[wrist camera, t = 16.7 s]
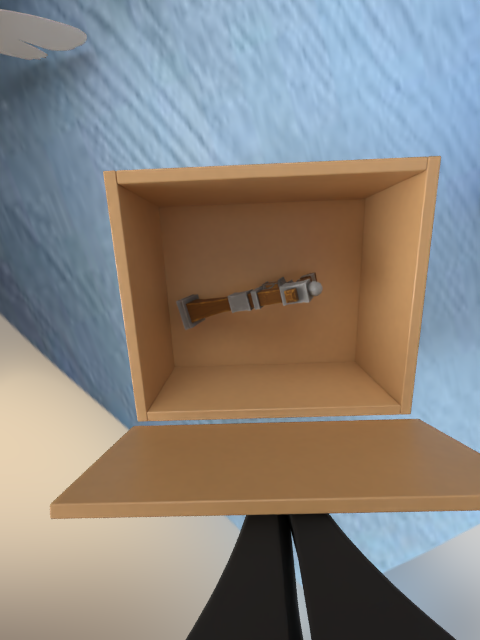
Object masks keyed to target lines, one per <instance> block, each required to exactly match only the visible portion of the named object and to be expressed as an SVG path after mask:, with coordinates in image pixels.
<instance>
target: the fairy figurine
mask: <svg viewBox="0 0 480 640" xmlns="http://www.w3.org/2000/svg"><path fill="white" fill-rule="evenodd" d="M86 39H87V35H86V34H85V33H84V32H83V31H81V30H79V29H77V28H75V27H72V26H70V25H66V24H63V23H60V22H57V21H53V20H49V19H46V18H42V17H38V16H34V15H29V14H24V13H20V12H14V11H9V10H3V9H0V53H1V54H4V55H8V56H14V57H18V58H23V59H27V60H32V59H38V60H41V59H40V58H46V57H45V56H47V54H46V53H44V52H43V51H41V50H39V49H37V48H35V47H34V46H32V45H29V44H27V43H30V44H33V45H36V46H39V47H42V48H45V49H49V50H55V51H66V50H72V49H74V48H75V47H77V46H80V45H83V44H84V43H85V41H86ZM20 40H21V41H20ZM23 41H24V42H23ZM25 42H27V43H25Z"/></svg>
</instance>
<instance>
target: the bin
mask: <svg viewBox="0 0 480 640" xmlns="http://www.w3.org/2000/svg"><path fill="white" fill-rule="evenodd" d="M440 162H441V156H429V157H408V158H385V159H363V160H341V161H319V162H297V163H274V164H252V165H230V166H208V167H186V168H163V169H141V170H119V171H103V174H104V181H105V188H106V195H107V203H108V210H109V217H110V224H111V231H112V239H113V246H114V253H115V260H116V267H117V275H118V282H119V289H120V296H121V303H122V311H123V318H124V325H125V332H126V339H127V347H128V354H129V361H130V368H131V375H132V383H133V390H134V397H135V404H136V411H137V419H138V421H171V420H209V419H246V418H284V417H321V416H359V415H396V414H411V406H412V398H413V389H414V381H415V373H416V364H417V356H418V347H419V339H420V330H421V322H422V313H423V305H424V297H425V288H426V280H427V271H428V263H429V254H430V246H431V238H432V229H433V221H434V212H435V204H436V195H437V187H438V178H439V170H440ZM314 272H315V273H316V278H317V282H319V283H321V285H322V287H323V290H322V292H321V294H320V295H318V296H313V298H312V300H311V301H310V302H302V303H295V304H288V305H285V306H283V303H278V304H271V305H265V306H263V307H262V308H261V309H256V310H255V308H253V309H252V310H251V311H248V310H245V311H238V312H234V313H232V311H227V312H223V313H219V314H216V315H213V316H209V317H206V318H205V319H206V320H204V321H203V322H201V323H199V324H198V325H196V326H194V327H193V328H191V329H190V328H189V329H187V330H185V328H184V325H183V322H182V319H181V315H180V312H179V309H178V306H177V303H176V301H178V300H180V299H182V298H185V297H187V296H190V295H192V294H194V295H196V294H198V296H199V299H210V298H220V297H227V296H229V295H231V294H233V293H235V292H244V291H248V290H251V289H253V290H254V289H256V288H259V287H260V286H262V284H263V283H265V282H267V281H268V282H274V281H278V279H280V278H281V277H284V279H285V280H286V282H288V281H290V280H291V279H292V280H293V282H296V281H297V280H298V279H300V277H301V276H303V275H306V274H309V273H314Z"/></svg>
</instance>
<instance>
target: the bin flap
mask: <svg viewBox="0 0 480 640" xmlns="http://www.w3.org/2000/svg"><path fill="white" fill-rule="evenodd" d="M472 510H480V453H478V452H476V451H475V450H473V449H471V448H469V447H467V446H466V445H464V444H462V443H460V442H459V441H457V440H455V439H453V438H452V437H450V436H448V435H446V434H445V433H443V432H441V431H439V430H437V429H436V428H434V427H432V426H430V425H429V424H427V423H425V422H423V421H422V420H420V419H393V420H355V421H317V422H279V423H241V424H203V425H165V426H133V427H132V428H131V429H130V430H129V431H128V432H127V433H126V434H124V435H123V436H122V437H121V438H120V439H119V440H118V441H117V442H116V443H115V444H114V445H113V446H112V447H111V448H110V449H108V450H107V451H106V452H105V453H104V454H103V455H102V456H101V457H100V458H99V459H98V460H97V461H96V462H95V463H94V464H93V465H92V466H90V467H89V468H88V469H87V470H86V471H85V472H84V473H83V474H82V475H81V476H80V477H79V478H78V479H77V480H76V481H75V482H73V483H72V484H71V485H70V486H69V487H68V488H67V489H66V490H65V491H64V492H63V493H62V494H61V495H60V496H59V497H57V498H56V499H55V500H54V501H53V502H52V503H51V504H50V518H51V519H63V518H64V519H65V518H116V517H162V516H163V517H164V516H165V517H166V516H213V515H214V516H216V515H217V516H218V515H269V514H319V513H370V512H421V511H472Z"/></svg>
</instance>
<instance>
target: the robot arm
mask: <svg viewBox="0 0 480 640" xmlns="http://www.w3.org/2000/svg"><path fill="white" fill-rule="evenodd" d="M291 533H292V536H293V540H294V544H295V548H296V552H297V556H298V560H299V566H300V572H301V578H302V584H303V590H304V596H305V602H306V608H307V614H308V620H309V625H310V633H311V639H312V640H456V639H455V638H454V637H453V636H451V635H450V634H449V633H448V632H446V631H445V630H444V629H443V628H442V627H441V626H439V625H438V624H437V623H436V622H435V621H433V620H432V619H431V618H430V617H429V616H427V615H426V614H425V613H424V612H423V611H422V610H421V609H420V608H418V607H417V606H416V605H415V604H414V603H413V602H412V601H411V600H409V599H408V598H407V597H406V596H405V595H404V594H403V593H402V592H401V591H400V590H399V589H397V588H396V587H395V586H394V585H393V584H392V583H391V582H390V581H389V580H388V579H387V578H386V577H385V576H384V575H383V574H382V573H381V572H380V571H379V570H378V569H377V568H376V567H375V566H374V565H373V564H372V563H371V562H370V561H369V560H368V559H367V558H366V557H365V556H364V555H363V554H362V552H361V551H360V550H359V549H358V548H357V547H356V546H355V545H354V544H353V543H352V541H351V540H350V539H349V538H348V537H347V536H346V535H345V533H344V532H343V531H342V530H341V529H340V527H339V526H338V525H337V524H336V522H335V521H334V520H333V519H332V517H331V516H330V515H329V513H319V514H269V515H246V517H245V520H244V523H243V526H242V529H241V532H240V534H239V537H238V539H237V542H236V544H235V547H234V549H233V552H232V554H231V556H230V558H229V561H228V563H227V565H226V567H225V569H224V571H223V573H222V575H221V578H220V580H219V582H218V584H217V586H216V588H215V589H214V591H213V594H212V595H211V597H210V599H209V601H208V603H207V604H206V606H205V608H204V610H203V611H202V613H201V615H200V616H199V618H198V620H197V622H196V623H195V625H194V627H193V629H192V630H191V632H190V633H189V635H188V637H187V639H186V640H303V635H302V629H301V623H300V616H299V608H298V600H297V589H296V579H295V569H294V558H293V548H292V538H291Z"/></svg>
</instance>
